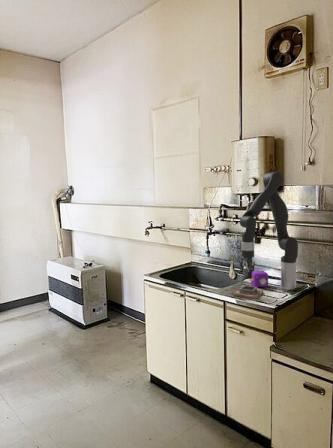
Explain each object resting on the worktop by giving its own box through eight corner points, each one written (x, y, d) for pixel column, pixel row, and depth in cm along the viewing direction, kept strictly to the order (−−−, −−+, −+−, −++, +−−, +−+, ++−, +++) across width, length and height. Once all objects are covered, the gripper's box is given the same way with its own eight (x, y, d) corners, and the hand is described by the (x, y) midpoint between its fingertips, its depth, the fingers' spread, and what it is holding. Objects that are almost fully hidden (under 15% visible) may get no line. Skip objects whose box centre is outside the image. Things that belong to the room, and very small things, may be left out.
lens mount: (241, 289, 221) (241, 283, 220) (263, 292, 213) (263, 286, 213) (233, 295, 209) (233, 289, 209) (255, 299, 201) (255, 292, 201)
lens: (245, 276, 213) (245, 265, 213) (253, 277, 211) (253, 266, 210) (242, 278, 209) (242, 267, 209) (250, 279, 206) (250, 268, 206)
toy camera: (258, 290, 219) (258, 274, 218) (247, 284, 232) (247, 270, 231) (273, 288, 222) (273, 273, 221) (262, 282, 235) (262, 268, 234)
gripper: (259, 250, 202) (259, 279, 204) (248, 246, 216) (248, 273, 218) (247, 251, 201) (247, 280, 202) (237, 247, 215) (237, 274, 216)
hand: (247, 276), depth 210 cm, fingers closed on lens, 5 cm apart
